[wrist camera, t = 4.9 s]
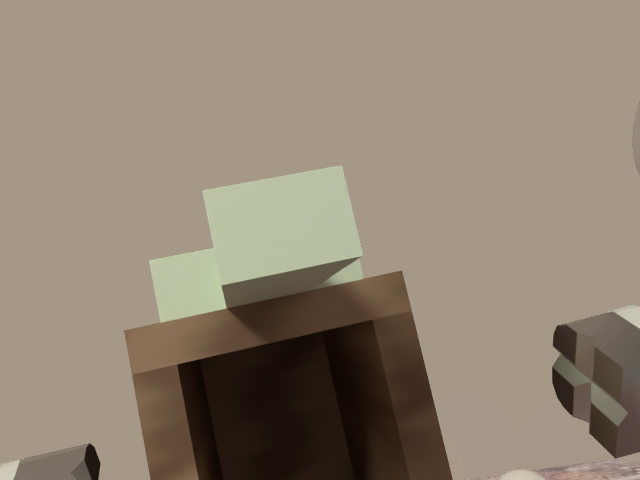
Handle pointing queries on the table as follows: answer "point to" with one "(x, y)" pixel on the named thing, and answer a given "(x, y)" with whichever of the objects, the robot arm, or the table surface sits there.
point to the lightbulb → (521, 475)
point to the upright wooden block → (290, 390)
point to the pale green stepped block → (264, 245)
